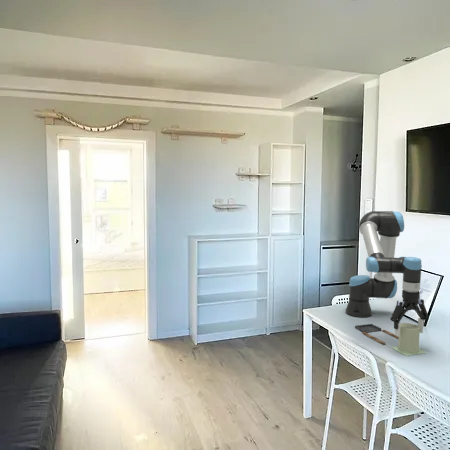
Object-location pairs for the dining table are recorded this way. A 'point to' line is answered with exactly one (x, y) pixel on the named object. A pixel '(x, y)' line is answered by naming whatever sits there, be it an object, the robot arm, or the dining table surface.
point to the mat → (408, 353)
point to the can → (409, 338)
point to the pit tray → (368, 328)
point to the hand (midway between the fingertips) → (408, 333)
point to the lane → (378, 339)
